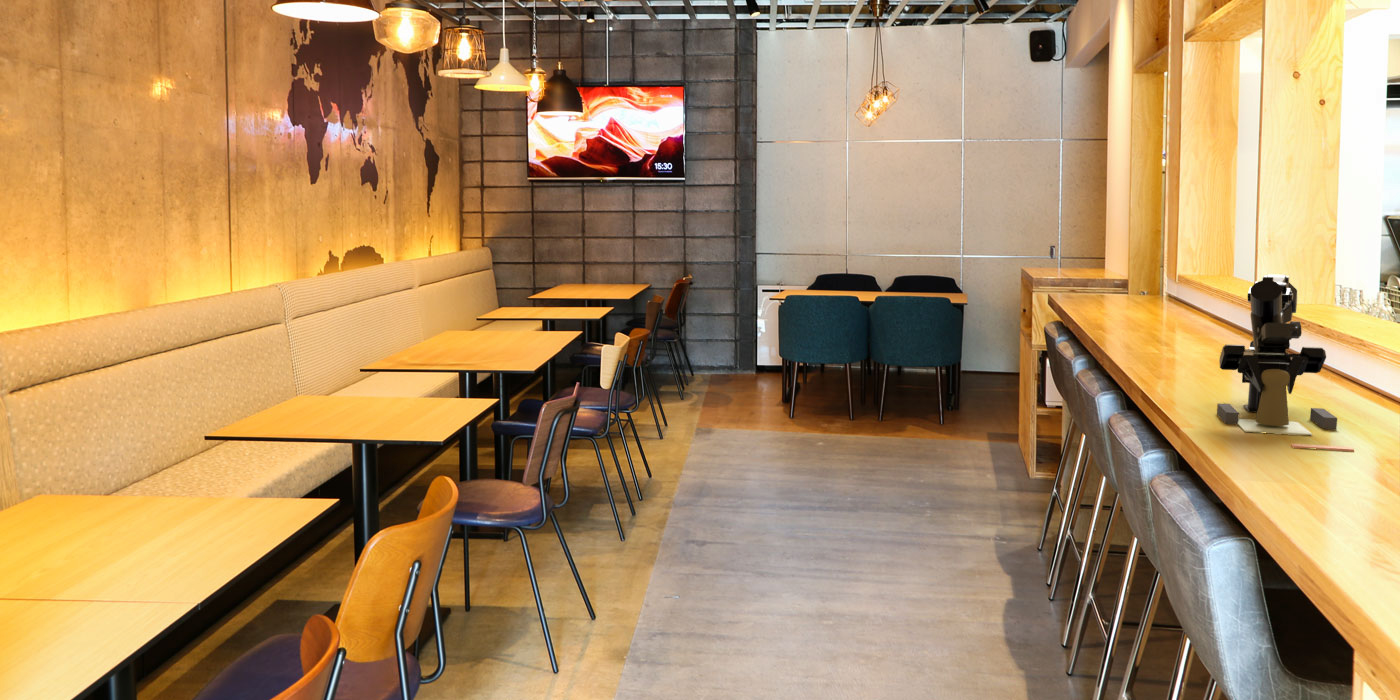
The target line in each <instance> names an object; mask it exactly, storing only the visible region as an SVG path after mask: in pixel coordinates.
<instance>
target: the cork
mask: <svg viewBox="0 0 1400 700" xmlns="http://www.w3.org/2000/svg"><path fill="white" fill-rule="evenodd" d="M1261 380H1262V384H1263V391H1262V394H1261V398H1260V402H1259V407H1258V411H1257V412H1256V416H1255V419H1254V420H1255V422H1257V423H1260V424H1265V425H1273V426H1285V425H1289V409H1288V393H1287V385H1288V384H1289V381H1290V375H1289V373H1288V372H1286V371H1284V370H1280V369H1268V370H1264V371H1263V372H1262V374H1261Z"/></svg>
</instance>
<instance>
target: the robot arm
mask: <svg viewBox="0 0 1400 700" xmlns="http://www.w3.org/2000/svg"><path fill="white" fill-rule="evenodd" d="M1247 302H1248V303H1249V304H1250V312H1251V313H1250V323H1251V331H1252V338H1253V340H1251V342H1250V343H1249V348H1248V349H1246V347H1245V345H1244V344H1224V345H1223V346H1222V349H1221V352H1220V355H1219V362H1218V363H1219V369H1221V370H1223V371H1226V370H1227V371H1237V373H1238V374H1241V375H1242V376H1241V377H1242V378H1241V380H1242V381H1241V384H1245V383H1246V384H1249V385H1248V386H1249V387H1248V397H1247V398H1248V399H1247V404H1242V405H1243V406H1242V407H1243V408H1244V409H1245V410H1246V411H1248V412H1250V413H1257V411H1258V407H1259V402H1260V398H1261V394H1262V391H1263V384H1262V380H1261V374H1262V372H1263V371H1264V370H1268V369H1280V370H1284V371H1286V372H1288V373H1289V375H1290V381H1289V384H1288V385H1287V386H1286V390H1287V391H1288V393H1287V394H1289V395H1291V394H1292V393H1293V390H1294V387H1295V386H1294V385H1295V381H1296V378H1297V377H1298V376H1302V375H1303V374H1306V373H1307V374H1318V373H1320V372H1321V370H1322V369H1323V366H1324V363H1325V362H1326V359H1327V353H1326V350H1325V349H1324V348H1323V347H1319V346H1318V347H1315V346H1312V347H1311V346H1302V347H1301V349H1300V351H1299V352H1300V353H1289V352H1287V350H1289V349H1290V346H1291V343H1290V341H1291V340H1292V339H1295V340H1297V339H1299V338H1301V336H1302V326H1301V325H1302V323H1301V321H1293V320H1292V319H1293V315H1294V314H1296V313H1297V306H1298V290H1297V288H1296V287H1295V286H1294V285H1293V284H1291V282H1290V275H1286V274H1266V275H1264V276H1262V279H1261V280H1259V281H1255V282H1254V283H1253V285H1252V286H1250V287H1249V290H1248V292H1247Z"/></svg>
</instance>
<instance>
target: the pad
mask: <svg viewBox="0 0 1400 700" xmlns="http://www.w3.org/2000/svg"><path fill="white" fill-rule="evenodd" d="M1255 420H1256V419H1252V418H1251V419H1249V418H1239V419H1238V422H1237V424H1238V425H1239V426H1240V427H1241V428H1242V429H1243V430H1244V431H1245V432H1244V431H1243V430H1242V429H1241V428H1240V427H1239V426H1238V425H1237V424H1236V425H1237V426H1238V427H1239V428H1240V429H1241V430H1242V431H1243V432H1244V433H1246V432H1266V433H1275V434H1274V435H1281V434H1288V435H1287V436H1299V435H1311V436H1310V437H1313V433H1312V432H1310V431H1309V430H1308V429H1307V428H1306V427H1304V426H1303V425H1302V424H1301V423H1300V422H1298V421H1289V425H1285V426H1273V425H1265V424H1260V423H1257V422H1255Z"/></svg>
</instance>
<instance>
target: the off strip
mask: <svg viewBox="0 0 1400 700" xmlns="http://www.w3.org/2000/svg"><path fill="white" fill-rule="evenodd" d="M1290 446H1291V447H1292V448H1293V447H1294V448H1293V449H1300V448H1316V449H1315V450H1317V449H1327V450H1326V451H1334V450H1337V452H1338V451H1339V452H1350V453H1352V452H1355V449H1354V448H1353V447H1351V446H1337V445H1336V446H1335V445H1323V444H1322V445H1321V444H1320V445H1319V444H1305V443H1304V444H1303V443H1290Z"/></svg>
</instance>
